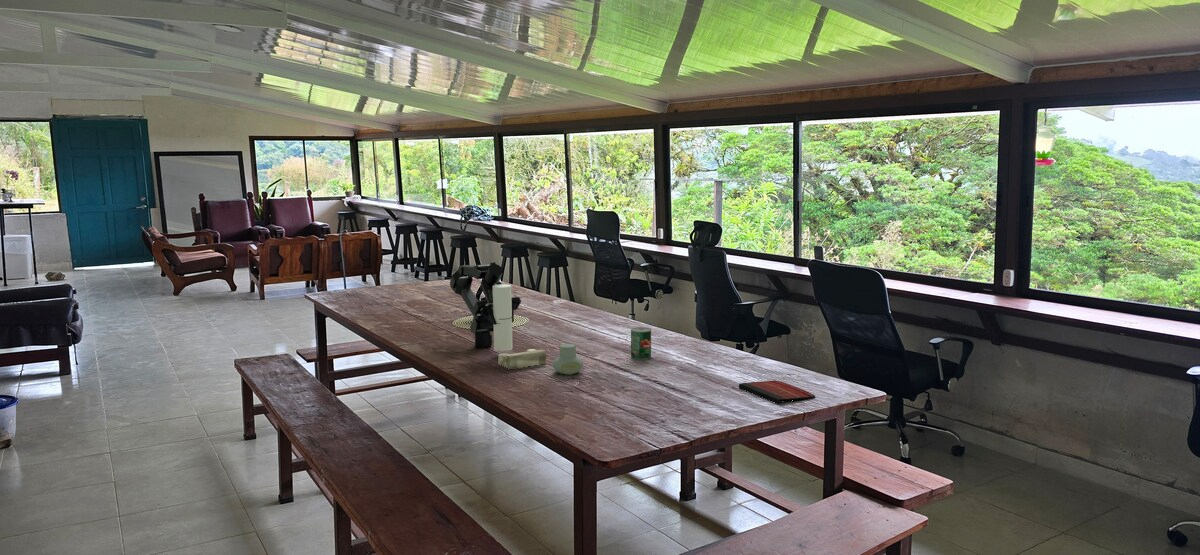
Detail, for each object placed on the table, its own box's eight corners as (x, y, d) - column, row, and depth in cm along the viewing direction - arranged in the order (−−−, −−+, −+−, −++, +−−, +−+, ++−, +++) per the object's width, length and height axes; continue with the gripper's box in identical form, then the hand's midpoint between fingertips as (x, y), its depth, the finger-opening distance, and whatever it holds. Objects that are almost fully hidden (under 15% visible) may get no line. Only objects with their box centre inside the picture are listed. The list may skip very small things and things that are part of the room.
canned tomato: (649, 360, 312) (649, 331, 311) (629, 359, 314) (629, 331, 312) (652, 355, 320) (652, 327, 319) (632, 354, 322) (632, 326, 320)
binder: (778, 399, 256) (738, 382, 274) (778, 406, 256) (738, 389, 274) (818, 394, 263) (776, 378, 281) (818, 401, 263) (776, 385, 282)
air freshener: (555, 376, 290) (555, 349, 289) (550, 371, 298) (550, 344, 297) (585, 374, 293) (585, 347, 292) (579, 368, 301) (579, 342, 300)
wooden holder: (498, 364, 308) (498, 351, 307) (533, 358, 316) (533, 346, 315) (510, 369, 300) (509, 356, 299) (545, 364, 308) (545, 351, 307)
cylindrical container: (511, 351, 317) (509, 287, 313) (492, 351, 317) (491, 287, 313) (513, 346, 324) (512, 284, 320) (495, 346, 324) (494, 284, 320)
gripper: (475, 280, 315) (488, 313, 307) (518, 276, 325) (532, 308, 317) (467, 297, 322) (479, 330, 315) (510, 293, 332) (523, 324, 325)
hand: (504, 323), depth 318 cm, fingers closed on cylindrical container, 7 cm apart
